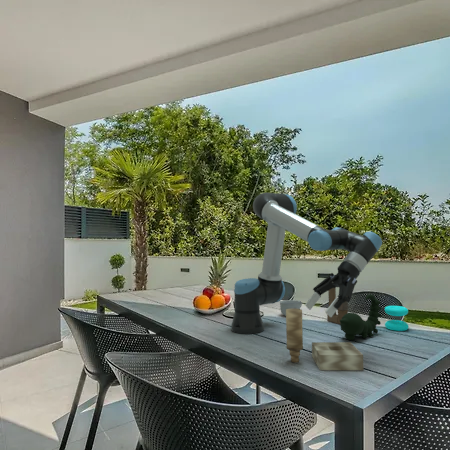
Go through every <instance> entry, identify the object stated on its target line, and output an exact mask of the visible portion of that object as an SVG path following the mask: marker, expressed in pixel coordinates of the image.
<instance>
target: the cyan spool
mask: <svg viewBox="0 0 450 450" xmlns="http://www.w3.org/2000/svg"><path fill="white" fill-rule="evenodd" d="M384 312H385V313H386V315H389V316H393V317H404V316H406V315H408V314H409V309H408V308H407V307H405V306H402V305H401V306H400V305H387V306H385V307H384ZM384 327H385V328H386V329H388V330H390V331H394V332H395V331H396V332H403V331H407V330H409V324H408V323H407V322H406V321H404V320H401V319H390V320H386V321H385V322H384Z"/></svg>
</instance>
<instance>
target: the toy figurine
mask: <svg viewBox="0 0 450 450" xmlns="http://www.w3.org/2000/svg"><path fill="white" fill-rule="evenodd" d="M367 300H370V306H369V311H368V316H367V318H366V320H364V319H363V317H361V315H359V314H358V313H355V312H348V313H347V314H345V315H344V316H343V317H342V319H341V320H340V324H339V326H340V330H341V331H343V333H344V338H345V339H346V340H348V341H354V340H355V337H356V336H361V338H363V339H366V338H367V337H369V338H373V336H374V334H378V332H379V330H378V329H377V325H378V326H379V325H381V320H379V318H381V317H383V316H382V314H381V313H379V311H381V310H382V307H381V306H379V305H380V304H382V302H381V300H379V299H377V298H376V296H375V295H374V294H372V293H369V294H367V295H366V296H365V301H367Z"/></svg>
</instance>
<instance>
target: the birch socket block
mask: <svg viewBox="0 0 450 450" xmlns="http://www.w3.org/2000/svg"><path fill="white" fill-rule="evenodd" d="M311 357H312V358H313V361H314V362H315V363H316V366H317V367H318V369H319V371H364V354H363V353H362V352H361V351H360V350H359V349H358V348H357V347H356V346H354V344H353V343H352V342H349V341H348V342H347V341H345V342H344V341H343V342H341V341H340V342H337V341H336V342H335V341H334V342H333V341H332V342H330V341H329V342H325V341H324V342H321V341H320V342H318V341H317V342H311Z"/></svg>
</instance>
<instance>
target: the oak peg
mask: <svg viewBox="0 0 450 450" xmlns="http://www.w3.org/2000/svg"><path fill="white" fill-rule="evenodd" d="M285 325H286V326H285V327H286V328H285V329H286V330H285V331H286V337H285V338H286V350H289V356H290V362H291V363H294V364H297V363H299V362H300V356H301V351H302V350H303V349H304V346H303V345H304V342H303V341H304V338H303V331H304V330H303V309H302V308H300V309H296V308H291V309H286V316H285Z"/></svg>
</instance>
